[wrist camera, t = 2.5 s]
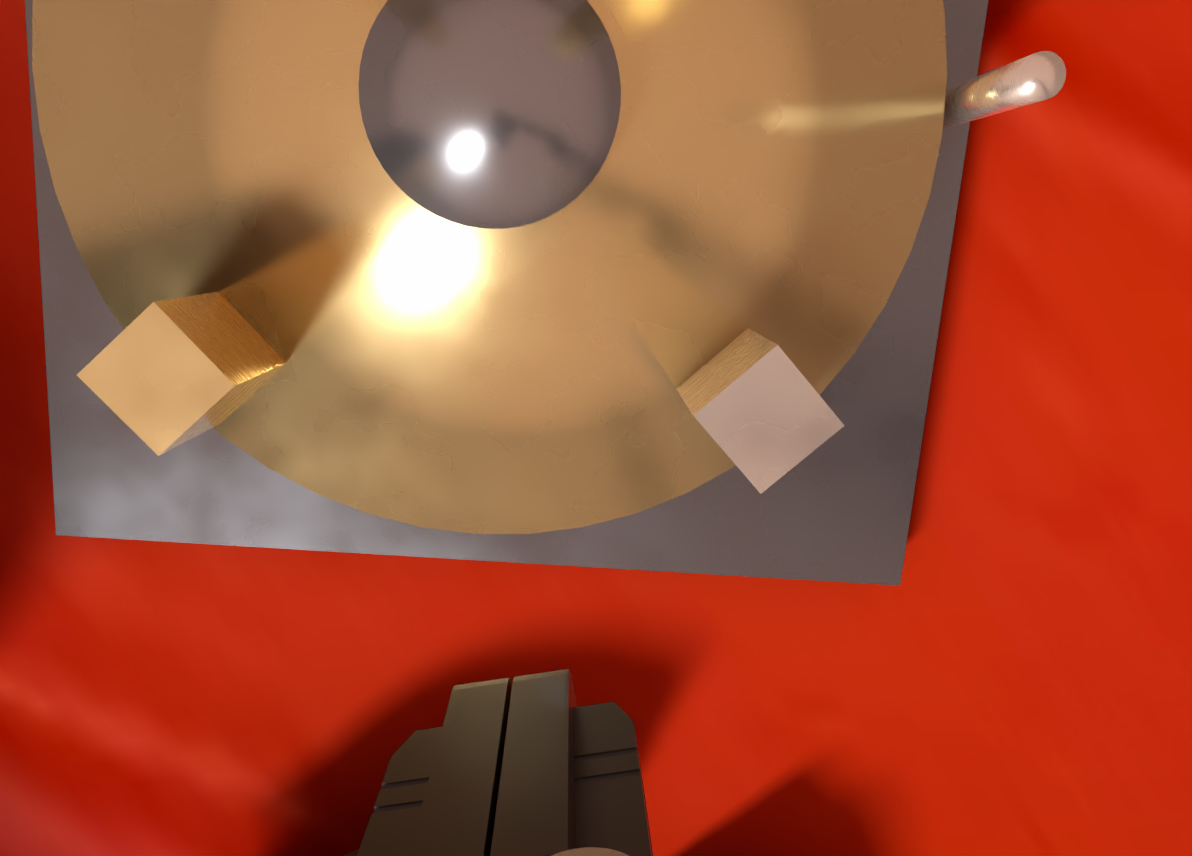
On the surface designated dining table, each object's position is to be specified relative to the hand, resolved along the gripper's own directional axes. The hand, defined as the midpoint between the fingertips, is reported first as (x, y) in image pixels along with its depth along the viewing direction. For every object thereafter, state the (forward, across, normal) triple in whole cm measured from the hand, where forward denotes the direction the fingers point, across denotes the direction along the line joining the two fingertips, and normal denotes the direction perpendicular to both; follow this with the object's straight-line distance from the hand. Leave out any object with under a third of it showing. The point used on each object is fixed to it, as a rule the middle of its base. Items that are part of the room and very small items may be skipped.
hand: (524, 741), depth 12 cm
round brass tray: (+15, 0, -10) cm, 18 cm away
